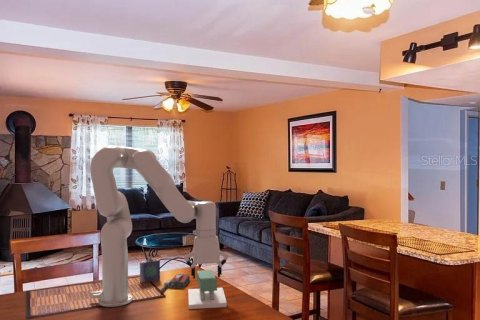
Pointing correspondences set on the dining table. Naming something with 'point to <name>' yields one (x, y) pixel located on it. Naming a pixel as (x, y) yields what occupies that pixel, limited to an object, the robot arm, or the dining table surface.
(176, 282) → the walkie-talkie
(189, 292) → the standoff plate
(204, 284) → the green boxy piece
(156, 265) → the flask
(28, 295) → the dining table surface
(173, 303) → the dining table surface
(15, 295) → the dining table surface
